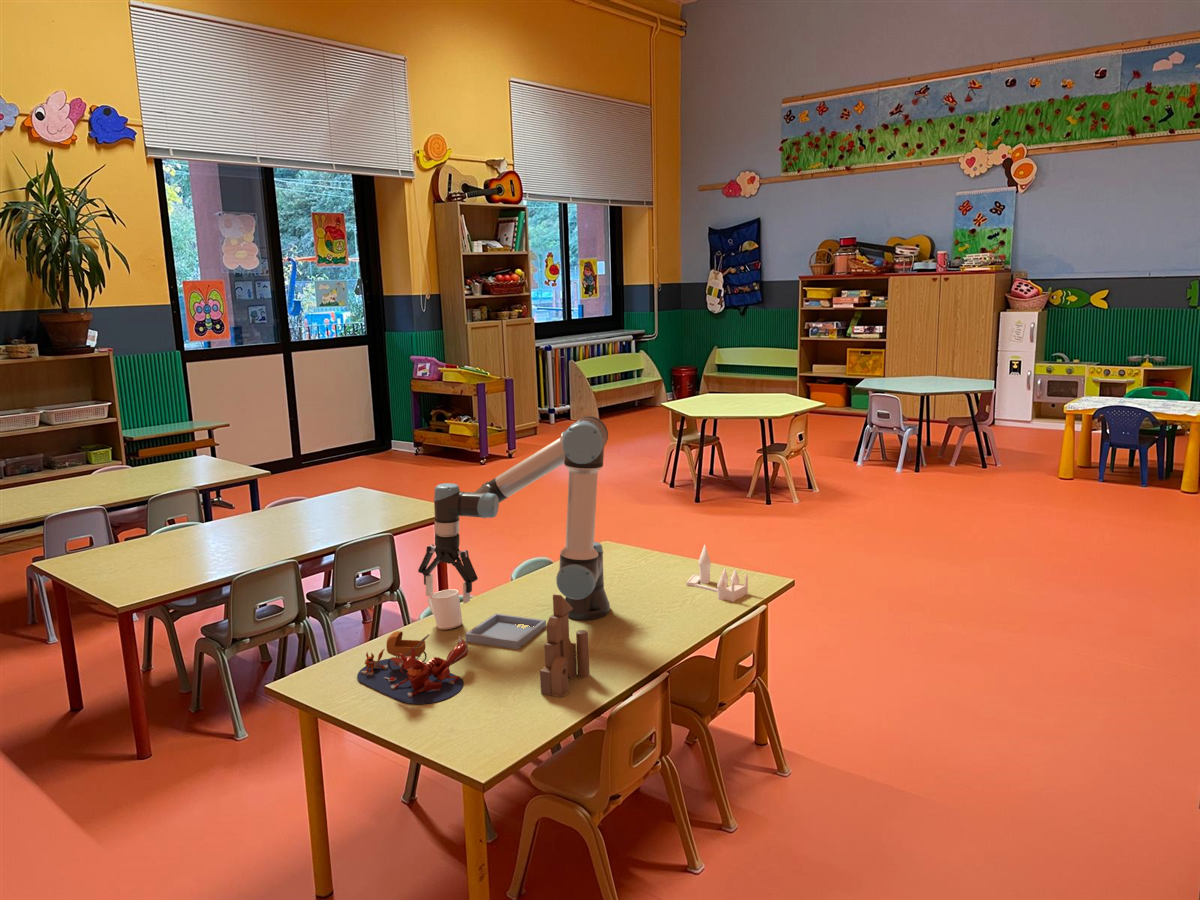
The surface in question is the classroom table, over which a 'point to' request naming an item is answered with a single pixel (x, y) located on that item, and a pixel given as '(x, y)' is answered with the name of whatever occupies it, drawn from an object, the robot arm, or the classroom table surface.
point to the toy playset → (413, 672)
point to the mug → (446, 608)
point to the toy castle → (723, 593)
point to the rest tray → (505, 631)
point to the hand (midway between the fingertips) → (447, 598)
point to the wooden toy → (562, 652)
